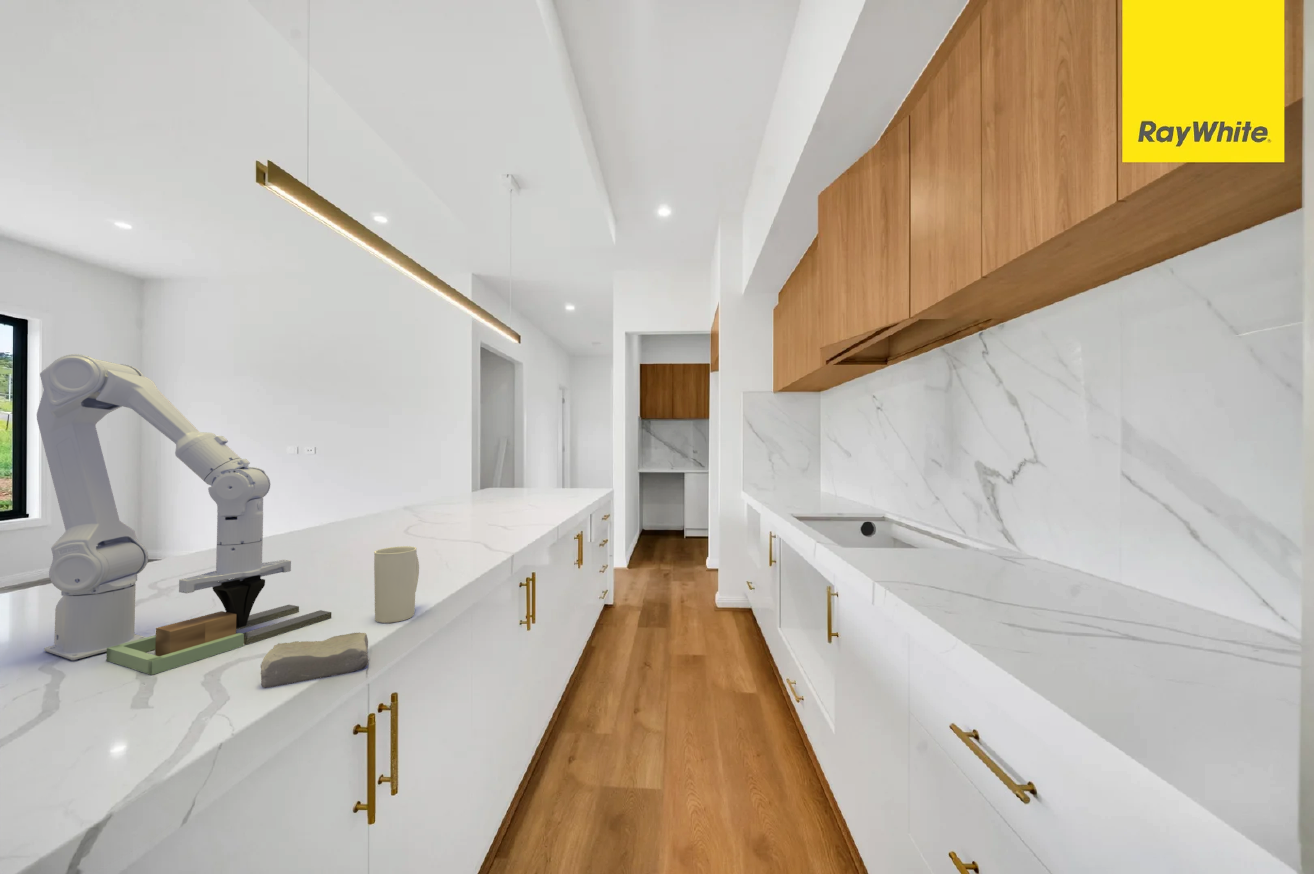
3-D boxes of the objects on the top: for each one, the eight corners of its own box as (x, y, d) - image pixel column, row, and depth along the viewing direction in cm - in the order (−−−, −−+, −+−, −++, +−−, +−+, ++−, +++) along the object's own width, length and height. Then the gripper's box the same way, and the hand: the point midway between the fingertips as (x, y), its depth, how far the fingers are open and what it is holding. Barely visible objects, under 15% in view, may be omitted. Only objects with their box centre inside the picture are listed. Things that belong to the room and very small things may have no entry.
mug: (399, 624, 83) (400, 554, 84) (364, 623, 84) (365, 553, 84) (434, 606, 93) (434, 543, 94) (401, 604, 94) (402, 542, 94)
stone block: (271, 677, 68) (254, 692, 60) (274, 640, 69) (259, 650, 61) (369, 662, 74) (367, 674, 65) (371, 629, 75) (369, 636, 66)
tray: (106, 660, 69) (106, 647, 69) (198, 634, 79) (198, 623, 79) (151, 675, 65) (152, 661, 65) (243, 645, 74) (243, 633, 74)
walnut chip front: (155, 655, 71) (155, 627, 71) (189, 645, 75) (190, 619, 75) (170, 659, 69) (170, 631, 70) (204, 649, 73) (205, 622, 73)
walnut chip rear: (189, 645, 75) (190, 619, 75) (221, 636, 78) (221, 611, 79) (204, 649, 73) (205, 622, 73) (235, 639, 77) (236, 614, 77)
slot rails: (202, 633, 79) (202, 627, 79) (288, 609, 91) (288, 604, 91) (247, 644, 75) (247, 637, 75) (331, 617, 87) (331, 612, 87)
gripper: (198, 552, 71) (196, 646, 71) (302, 536, 85) (301, 615, 84) (172, 548, 74) (169, 639, 73) (277, 533, 87) (275, 610, 87)
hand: (238, 626), depth 79 cm, fingers closed
